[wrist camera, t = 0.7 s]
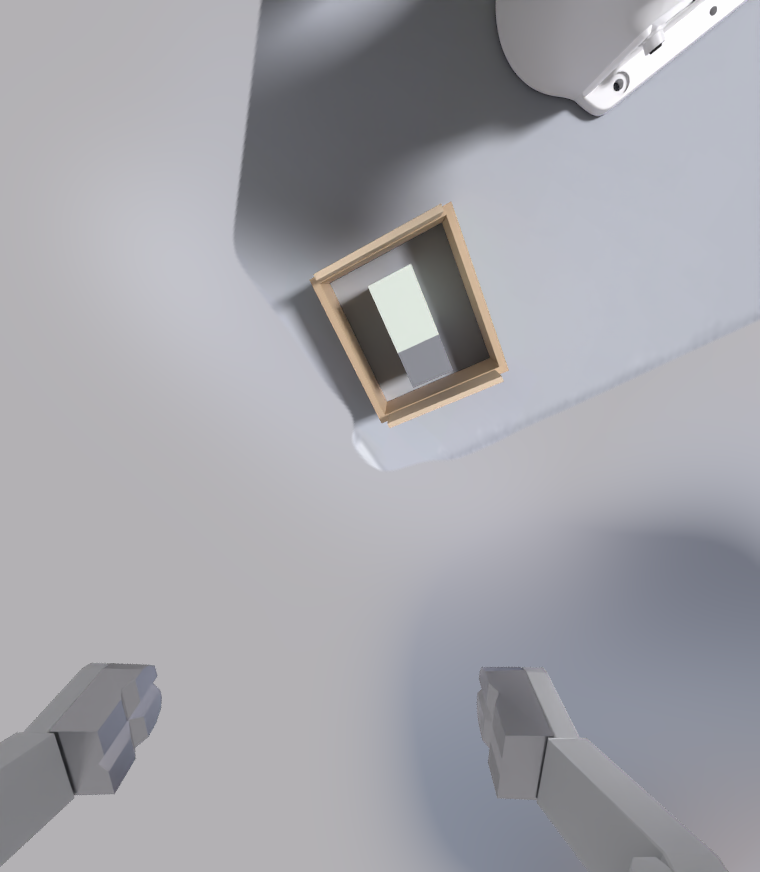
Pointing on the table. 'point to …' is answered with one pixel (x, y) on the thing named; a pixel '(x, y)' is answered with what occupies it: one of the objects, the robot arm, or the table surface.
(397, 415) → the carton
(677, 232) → the table surface
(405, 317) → the box
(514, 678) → the robot arm
